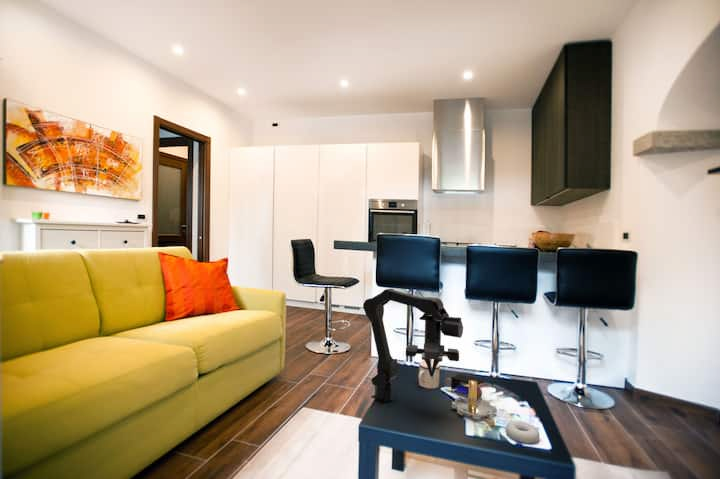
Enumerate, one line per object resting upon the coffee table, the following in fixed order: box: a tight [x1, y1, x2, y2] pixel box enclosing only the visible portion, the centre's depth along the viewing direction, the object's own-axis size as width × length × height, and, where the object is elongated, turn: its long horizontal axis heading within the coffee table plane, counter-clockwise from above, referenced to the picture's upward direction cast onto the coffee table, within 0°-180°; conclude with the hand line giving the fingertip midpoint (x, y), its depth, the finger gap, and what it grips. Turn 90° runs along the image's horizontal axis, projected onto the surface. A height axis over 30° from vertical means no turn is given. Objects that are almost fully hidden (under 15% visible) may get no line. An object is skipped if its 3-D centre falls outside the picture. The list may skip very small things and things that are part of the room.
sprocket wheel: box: [451, 380, 498, 420], centre depth 132 cm, size 15×15×12 cm
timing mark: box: [484, 418, 496, 426], centre depth 124 cm, size 2×2×1 cm
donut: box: [505, 420, 540, 444], centre depth 116 cm, size 10×4×10 cm
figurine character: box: [443, 373, 485, 400], centre depth 149 cm, size 7×8×15 cm
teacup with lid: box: [418, 359, 441, 390], centre depth 156 cm, size 12×9×12 cm
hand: (431, 376), depth 131 cm, fingers closed
